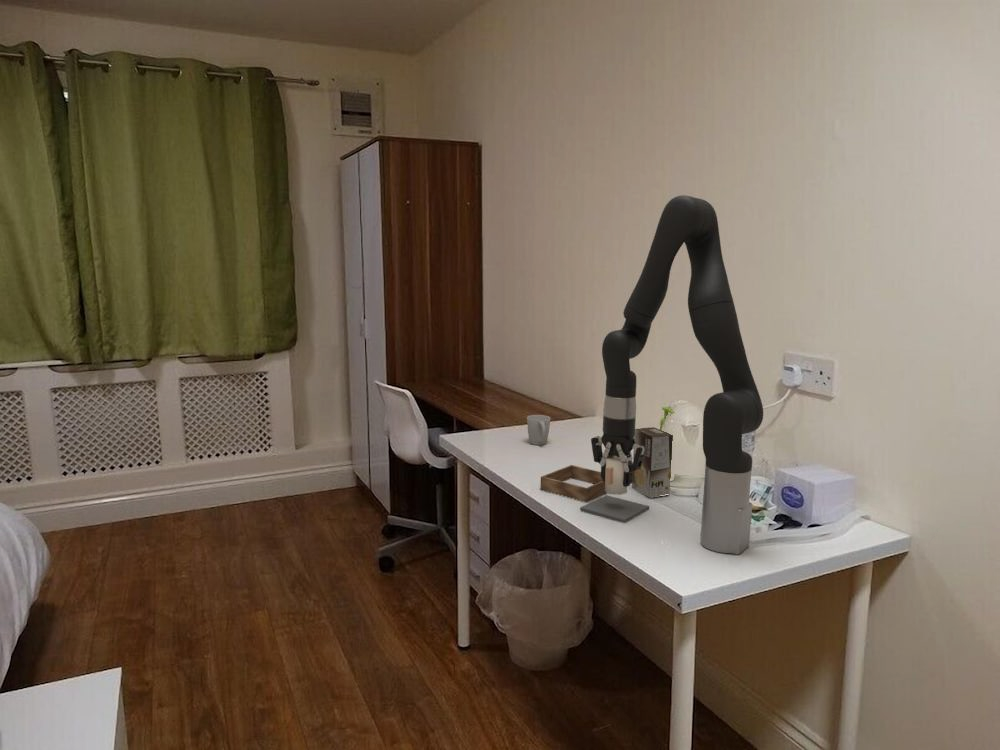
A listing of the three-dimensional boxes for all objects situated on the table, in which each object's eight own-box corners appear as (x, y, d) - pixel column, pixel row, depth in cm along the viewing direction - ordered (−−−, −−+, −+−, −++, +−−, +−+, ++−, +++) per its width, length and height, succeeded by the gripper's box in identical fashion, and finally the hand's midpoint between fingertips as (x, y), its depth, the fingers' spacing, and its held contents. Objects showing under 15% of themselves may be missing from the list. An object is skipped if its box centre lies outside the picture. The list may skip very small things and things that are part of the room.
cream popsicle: (611, 485, 174) (613, 454, 173) (630, 490, 171) (632, 458, 170) (597, 492, 169) (598, 460, 168) (616, 497, 166) (618, 464, 165)
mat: (649, 509, 172) (649, 506, 172) (624, 523, 163) (624, 519, 163) (606, 497, 180) (606, 494, 180) (580, 510, 171) (580, 507, 171)
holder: (616, 488, 187) (616, 475, 187) (586, 502, 176) (587, 488, 176) (570, 477, 196) (571, 464, 195) (540, 489, 185) (540, 476, 185)
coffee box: (670, 496, 182) (674, 435, 179) (649, 498, 180) (652, 436, 177) (651, 485, 191) (654, 426, 188) (630, 487, 188) (633, 428, 186)
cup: (545, 439, 235) (546, 414, 234) (555, 447, 226) (555, 421, 224) (523, 440, 233) (524, 415, 232) (531, 448, 224) (532, 422, 222)
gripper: (654, 416, 166) (650, 486, 169) (601, 406, 175) (598, 473, 178) (639, 422, 160) (634, 494, 163) (585, 411, 169) (582, 480, 172)
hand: (616, 483), depth 171 cm, fingers closed on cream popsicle, 5 cm apart
